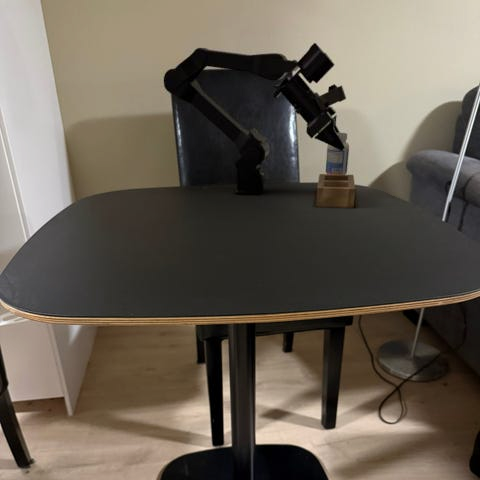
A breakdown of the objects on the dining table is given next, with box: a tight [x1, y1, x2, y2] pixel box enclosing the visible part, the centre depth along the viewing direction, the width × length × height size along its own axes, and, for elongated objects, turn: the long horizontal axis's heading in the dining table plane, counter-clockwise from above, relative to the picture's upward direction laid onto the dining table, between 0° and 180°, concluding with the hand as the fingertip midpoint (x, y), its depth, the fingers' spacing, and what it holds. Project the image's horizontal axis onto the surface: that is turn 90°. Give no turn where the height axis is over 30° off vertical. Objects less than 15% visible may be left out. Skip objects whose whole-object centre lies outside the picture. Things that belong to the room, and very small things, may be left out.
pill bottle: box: [325, 132, 350, 176], centre depth 121 cm, size 6×5×10 cm
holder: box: [315, 173, 356, 209], centre depth 122 cm, size 9×16×4 cm, turn 170°
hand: (343, 147), depth 120 cm, fingers closed on pill bottle, 5 cm apart
